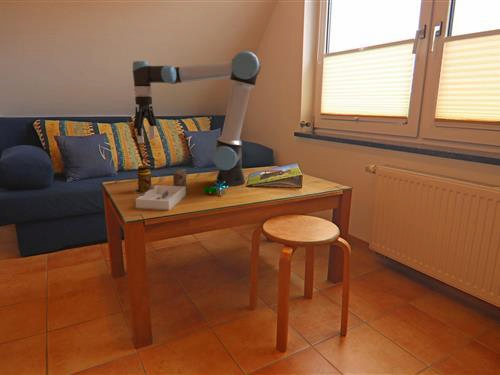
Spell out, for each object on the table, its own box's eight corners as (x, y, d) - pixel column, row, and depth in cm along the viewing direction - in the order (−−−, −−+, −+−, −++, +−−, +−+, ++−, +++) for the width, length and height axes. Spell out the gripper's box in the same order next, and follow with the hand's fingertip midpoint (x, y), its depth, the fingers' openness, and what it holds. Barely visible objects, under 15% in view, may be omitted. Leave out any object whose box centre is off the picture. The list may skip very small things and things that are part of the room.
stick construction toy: (230, 187, 165) (225, 177, 159) (231, 199, 161) (226, 189, 155) (206, 193, 167) (200, 184, 161) (206, 205, 162) (201, 195, 156)
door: (188, 186, 175) (187, 169, 172) (182, 191, 165) (181, 173, 163) (180, 186, 175) (179, 168, 173) (173, 191, 166) (173, 173, 163)
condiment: (152, 192, 163) (150, 168, 160) (133, 193, 161) (131, 168, 158) (152, 188, 170) (151, 164, 167) (134, 189, 168) (133, 165, 165)
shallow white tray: (185, 195, 160) (185, 186, 159) (169, 210, 139) (168, 200, 138) (156, 193, 162) (156, 184, 160) (136, 208, 141) (135, 198, 139)
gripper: (146, 95, 175) (150, 137, 181) (122, 96, 152) (127, 144, 157) (161, 95, 174) (163, 137, 180) (139, 96, 151) (143, 144, 156)
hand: (146, 141), depth 169 cm, fingers open, 13 cm apart
